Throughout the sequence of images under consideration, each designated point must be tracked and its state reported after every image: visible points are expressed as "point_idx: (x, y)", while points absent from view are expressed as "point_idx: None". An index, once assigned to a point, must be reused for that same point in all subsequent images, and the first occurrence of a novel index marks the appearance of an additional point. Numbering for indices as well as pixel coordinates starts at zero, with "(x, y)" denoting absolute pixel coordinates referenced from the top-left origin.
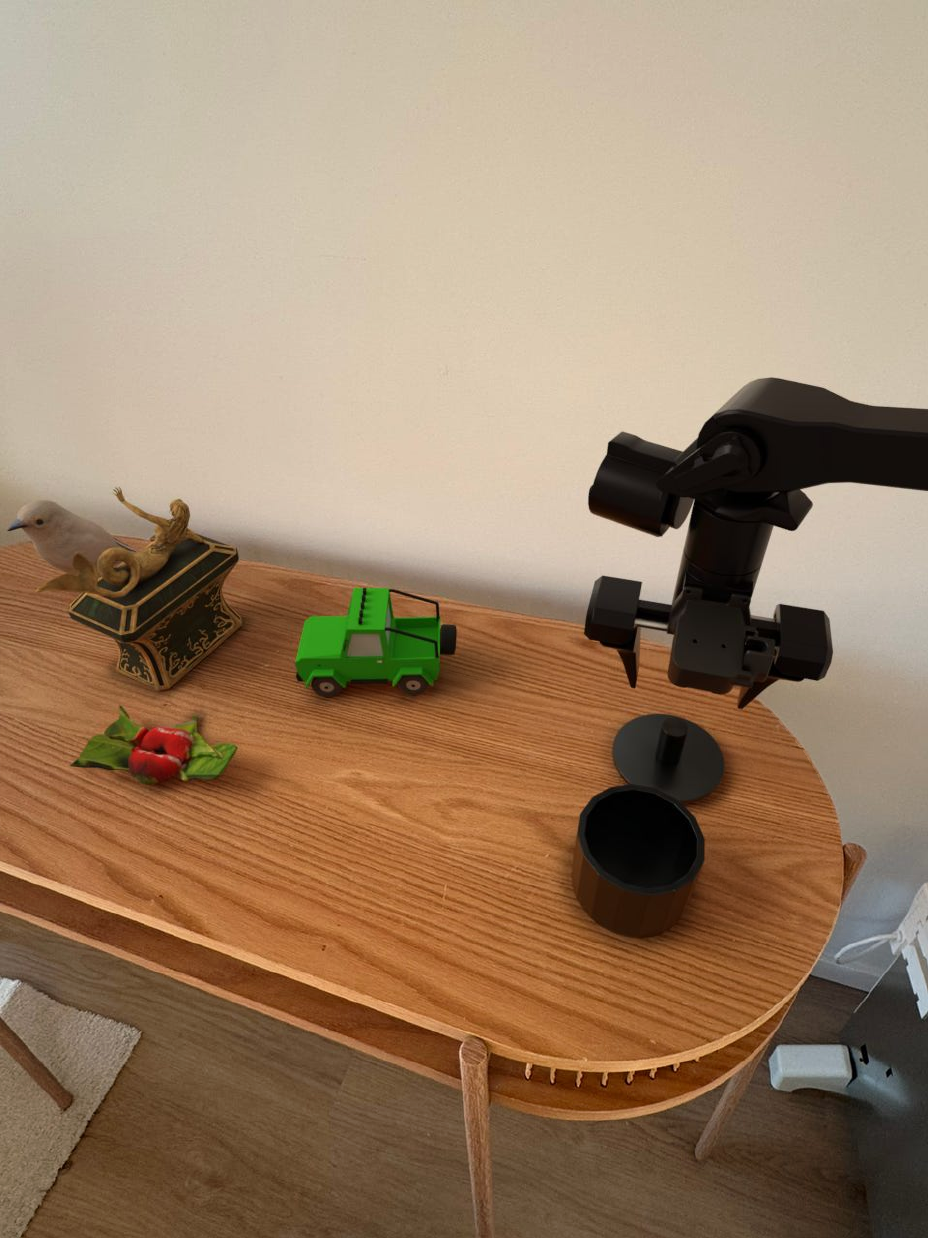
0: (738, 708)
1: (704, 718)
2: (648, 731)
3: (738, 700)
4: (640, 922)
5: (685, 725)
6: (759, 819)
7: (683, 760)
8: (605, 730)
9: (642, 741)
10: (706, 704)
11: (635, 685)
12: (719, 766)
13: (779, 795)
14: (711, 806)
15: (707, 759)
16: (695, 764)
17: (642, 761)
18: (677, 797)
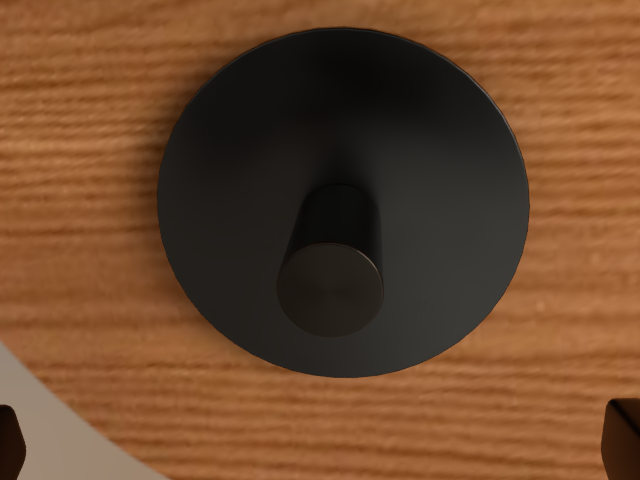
0: (3, 405)
1: (258, 395)
2: (414, 298)
3: (6, 453)
4: None
5: (290, 308)
6: (32, 84)
7: (286, 217)
8: (549, 275)
9: (429, 252)
10: (261, 441)
11: (628, 416)
12: (173, 227)
13: (4, 192)
14: (175, 84)
15: (214, 243)
16: (246, 212)
17: (418, 170)
18: (278, 53)
